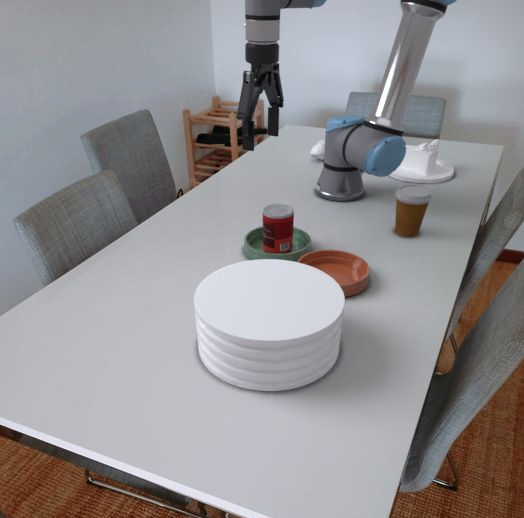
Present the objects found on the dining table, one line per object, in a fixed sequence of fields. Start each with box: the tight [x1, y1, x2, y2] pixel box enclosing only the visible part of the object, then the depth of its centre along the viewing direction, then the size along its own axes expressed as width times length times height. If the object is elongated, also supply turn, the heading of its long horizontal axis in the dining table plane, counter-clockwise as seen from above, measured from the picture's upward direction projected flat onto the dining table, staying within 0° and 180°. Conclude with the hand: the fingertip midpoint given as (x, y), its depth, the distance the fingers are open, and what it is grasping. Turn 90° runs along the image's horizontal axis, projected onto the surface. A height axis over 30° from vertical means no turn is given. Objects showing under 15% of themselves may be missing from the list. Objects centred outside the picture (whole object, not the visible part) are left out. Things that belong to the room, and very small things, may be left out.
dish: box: [388, 138, 455, 184], centre depth 178 cm, size 25×25×11 cm
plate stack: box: [193, 259, 346, 392], centre depth 98 cm, size 28×28×12 cm
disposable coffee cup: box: [394, 183, 433, 238], centre depth 138 cm, size 10×10×12 cm
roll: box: [309, 139, 325, 161], centre depth 188 cm, size 6×12×6 cm, turn 159°
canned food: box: [262, 203, 295, 254], centre depth 129 cm, size 8×8×11 cm
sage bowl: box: [243, 225, 312, 262], centre depth 132 cm, size 17×17×3 cm
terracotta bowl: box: [297, 249, 371, 298], centre depth 121 cm, size 17×17×3 cm
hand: (261, 142), depth 125 cm, fingers open, 13 cm apart
